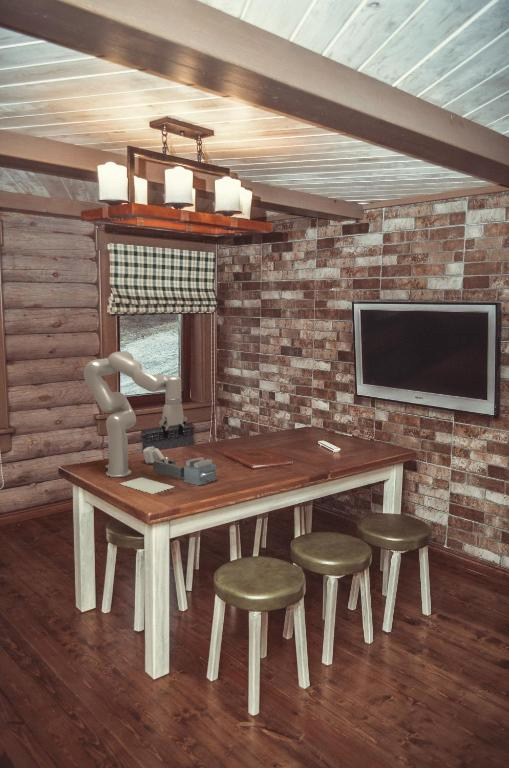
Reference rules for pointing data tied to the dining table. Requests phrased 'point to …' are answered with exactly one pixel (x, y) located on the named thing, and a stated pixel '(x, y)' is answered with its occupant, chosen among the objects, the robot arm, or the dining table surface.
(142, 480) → the mat
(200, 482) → the grey metal pieces
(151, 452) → the wall hook
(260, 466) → the dining table surface
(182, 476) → the crook
